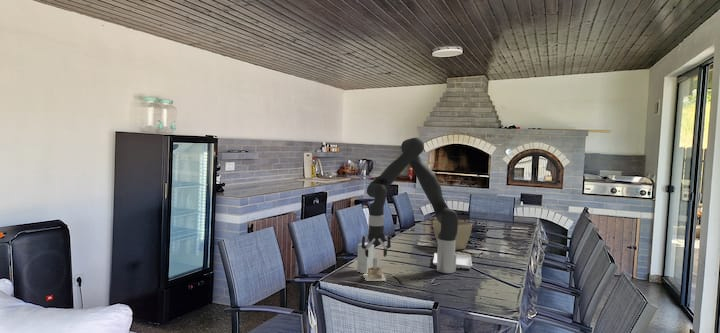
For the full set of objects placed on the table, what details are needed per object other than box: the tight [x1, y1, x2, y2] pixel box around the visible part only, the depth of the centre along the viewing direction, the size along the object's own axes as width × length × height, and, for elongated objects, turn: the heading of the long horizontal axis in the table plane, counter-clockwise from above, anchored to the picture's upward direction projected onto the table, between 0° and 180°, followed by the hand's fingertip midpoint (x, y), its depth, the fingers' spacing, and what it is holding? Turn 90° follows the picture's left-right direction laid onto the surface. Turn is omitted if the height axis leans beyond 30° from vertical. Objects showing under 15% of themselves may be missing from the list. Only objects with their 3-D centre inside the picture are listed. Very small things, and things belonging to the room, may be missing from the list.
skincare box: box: [356, 241, 375, 274], centre depth 226 cm, size 8×6×15 cm
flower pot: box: [432, 219, 473, 251], centre depth 284 cm, size 19×19×17 cm
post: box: [362, 257, 387, 282], centre depth 215 cm, size 10×10×10 cm
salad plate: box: [432, 252, 473, 270], centre depth 245 cm, size 21×21×3 cm
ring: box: [368, 266, 383, 279], centre depth 215 cm, size 6×6×4 cm
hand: (375, 256), depth 214 cm, fingers open, 8 cm apart
